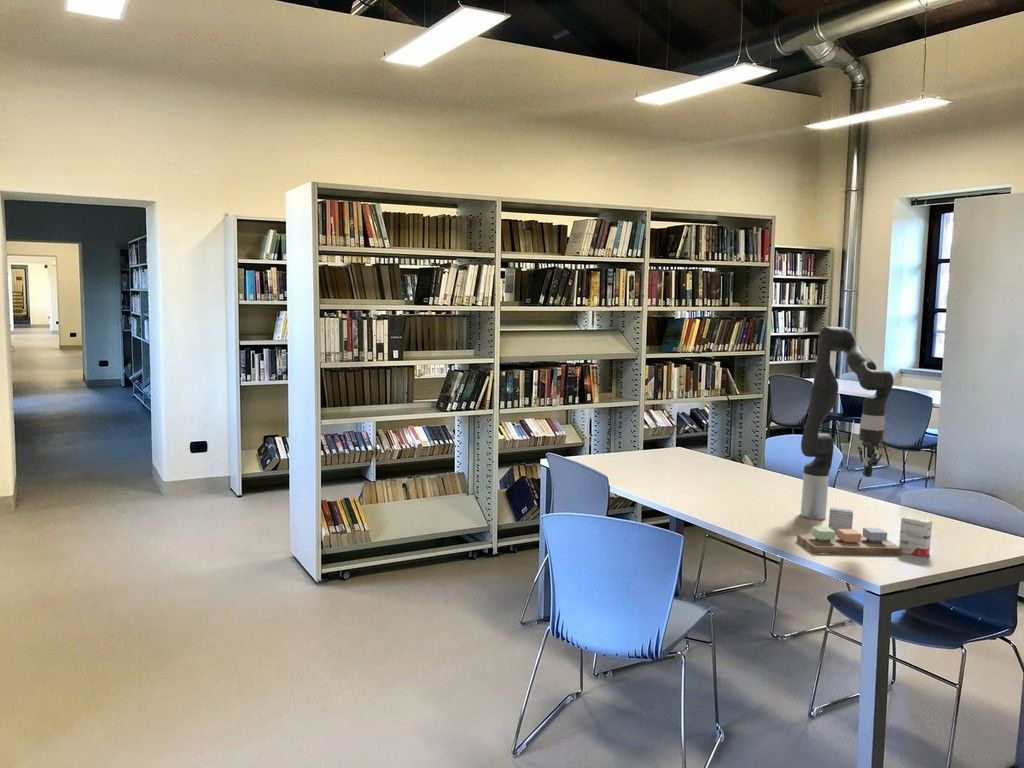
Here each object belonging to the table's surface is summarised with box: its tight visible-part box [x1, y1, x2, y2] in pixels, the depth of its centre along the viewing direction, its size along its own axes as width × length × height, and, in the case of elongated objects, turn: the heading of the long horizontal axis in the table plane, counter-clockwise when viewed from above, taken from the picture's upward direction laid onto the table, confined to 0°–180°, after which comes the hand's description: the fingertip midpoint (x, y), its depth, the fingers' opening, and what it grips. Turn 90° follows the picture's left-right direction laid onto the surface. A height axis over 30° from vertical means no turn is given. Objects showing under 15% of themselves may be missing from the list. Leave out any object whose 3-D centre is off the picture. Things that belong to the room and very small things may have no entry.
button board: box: [796, 534, 903, 556], centre depth 271 cm, size 14×30×4 cm, turn 92°
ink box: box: [898, 516, 933, 558], centre depth 267 cm, size 8×5×12 cm, turn 47°
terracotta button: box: [836, 528, 862, 542], centre depth 271 cm, size 6×6×3 cm
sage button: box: [811, 526, 836, 540], centre depth 270 cm, size 6×6×3 cm
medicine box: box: [828, 506, 854, 534], centre depth 290 cm, size 8×4×9 cm, turn 66°
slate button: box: [862, 527, 888, 541], centre depth 271 cm, size 6×6×3 cm
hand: (867, 476), depth 275 cm, fingers closed
